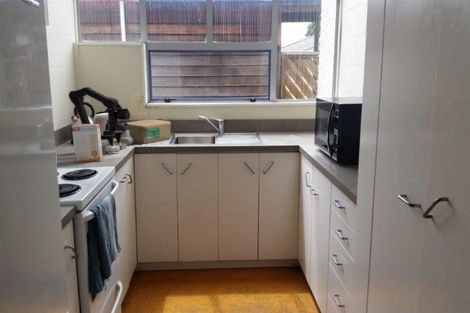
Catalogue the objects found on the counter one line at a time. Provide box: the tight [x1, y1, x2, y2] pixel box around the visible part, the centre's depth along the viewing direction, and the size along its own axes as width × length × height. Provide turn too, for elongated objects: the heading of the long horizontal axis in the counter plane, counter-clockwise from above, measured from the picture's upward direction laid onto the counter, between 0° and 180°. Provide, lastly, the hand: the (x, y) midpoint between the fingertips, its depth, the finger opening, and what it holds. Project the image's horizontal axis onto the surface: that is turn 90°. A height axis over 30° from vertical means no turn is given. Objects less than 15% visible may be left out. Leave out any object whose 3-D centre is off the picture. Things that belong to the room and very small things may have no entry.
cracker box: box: [71, 123, 104, 163], centre depth 236 cm, size 14×6×21 cm, turn 92°
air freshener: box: [120, 130, 134, 147], centre depth 285 cm, size 11×8×10 cm
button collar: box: [113, 143, 127, 151], centre depth 271 cm, size 7×7×3 cm
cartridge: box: [106, 145, 121, 153], centre depth 259 cm, size 12×4×4 cm, turn 81°
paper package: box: [120, 118, 172, 145], centre depth 302 cm, size 27×26×14 cm
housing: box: [101, 142, 111, 155], centre depth 259 cm, size 6×8×6 cm
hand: (115, 144), depth 257 cm, fingers open, 9 cm apart
